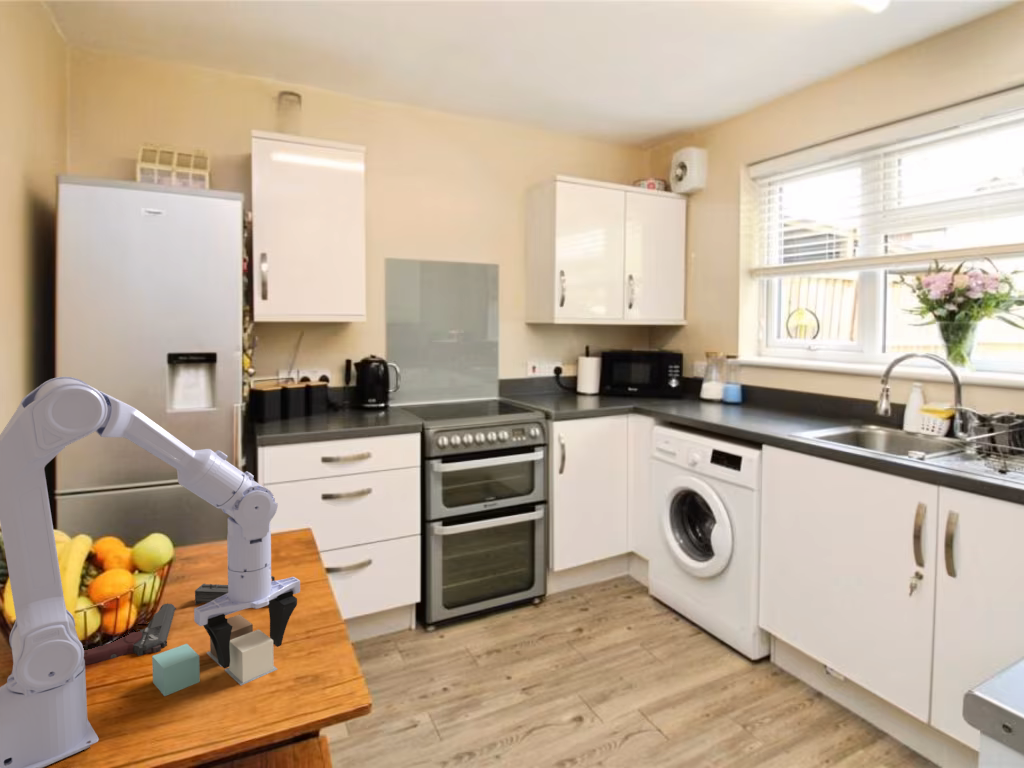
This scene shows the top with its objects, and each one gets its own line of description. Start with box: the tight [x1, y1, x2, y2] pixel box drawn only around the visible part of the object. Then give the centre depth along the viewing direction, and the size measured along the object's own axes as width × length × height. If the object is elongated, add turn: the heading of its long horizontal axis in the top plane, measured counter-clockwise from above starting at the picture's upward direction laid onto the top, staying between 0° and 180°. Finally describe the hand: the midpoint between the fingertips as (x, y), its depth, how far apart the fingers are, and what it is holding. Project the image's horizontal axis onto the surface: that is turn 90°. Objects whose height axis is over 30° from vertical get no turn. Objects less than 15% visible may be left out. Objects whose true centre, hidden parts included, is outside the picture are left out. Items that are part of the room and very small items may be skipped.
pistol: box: [83, 603, 177, 666], centre depth 94 cm, size 2×15×12 cm
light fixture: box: [194, 575, 276, 606], centre depth 106 cm, size 3×15×6 cm, turn 89°
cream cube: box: [228, 628, 275, 683], centre depth 85 cm, size 4×4×4 cm
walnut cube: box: [209, 614, 254, 659], centre depth 89 cm, size 4×4×4 cm
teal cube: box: [151, 643, 201, 697], centre depth 82 cm, size 4×4×4 cm
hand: (250, 653), depth 85 cm, fingers open, 7 cm apart
